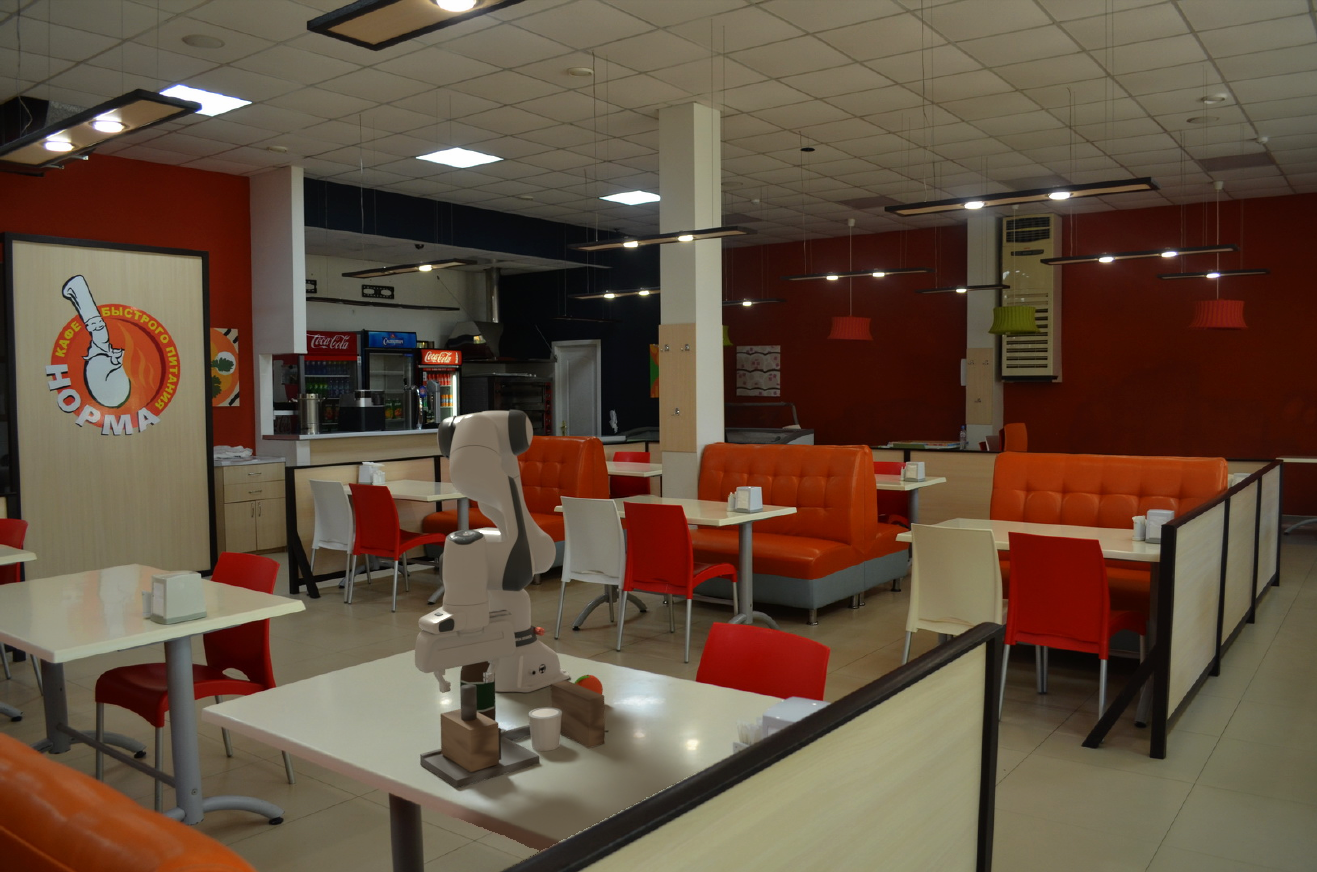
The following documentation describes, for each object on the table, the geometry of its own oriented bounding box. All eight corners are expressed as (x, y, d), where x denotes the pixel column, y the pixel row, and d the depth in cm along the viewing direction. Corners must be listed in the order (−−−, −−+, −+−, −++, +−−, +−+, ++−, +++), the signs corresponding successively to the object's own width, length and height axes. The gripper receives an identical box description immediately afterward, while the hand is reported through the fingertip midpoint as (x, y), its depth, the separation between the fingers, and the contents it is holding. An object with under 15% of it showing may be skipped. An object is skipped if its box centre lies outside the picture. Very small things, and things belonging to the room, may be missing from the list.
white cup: (529, 740, 198) (529, 707, 198) (562, 738, 199) (562, 706, 198) (528, 752, 191) (527, 718, 191) (562, 751, 192) (561, 717, 192)
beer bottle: (466, 735, 201) (464, 624, 200) (456, 724, 208) (454, 616, 207) (501, 729, 205) (499, 619, 204) (490, 718, 212) (488, 612, 210)
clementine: (581, 712, 215) (580, 682, 214) (563, 705, 220) (563, 675, 220) (609, 705, 220) (608, 674, 220) (590, 697, 225) (590, 668, 225)
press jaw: (472, 745, 191) (470, 675, 190) (502, 762, 182) (501, 689, 181) (441, 753, 186) (439, 682, 186) (471, 772, 177) (469, 697, 177)
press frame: (564, 723, 208) (563, 679, 207) (604, 743, 196) (604, 695, 196) (420, 764, 186) (419, 714, 185) (456, 788, 174) (455, 734, 174)
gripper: (505, 605, 191) (505, 673, 192) (410, 620, 178) (411, 693, 179) (521, 610, 187) (522, 679, 187) (425, 626, 174) (426, 701, 174)
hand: (467, 686), depth 183 cm, fingers open, 8 cm apart
